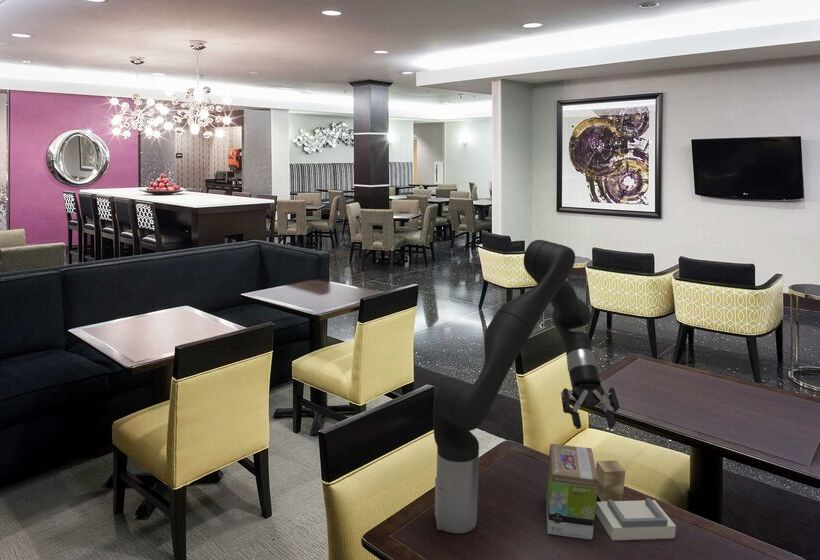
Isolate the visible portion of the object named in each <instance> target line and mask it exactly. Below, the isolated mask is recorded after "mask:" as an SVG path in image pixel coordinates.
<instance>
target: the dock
mask: <svg viewBox="0 0 820 560" xmlns="http://www.w3.org/2000/svg"><path fill="white" fill-rule="evenodd" d="M595 516H596V517H597V519H598V520H599V522H600V523H601V525H602V527H603V528H604V529H605V531H606V533H607V534H608V536H609V537H610V539H611V541H631V540H633V541H634V540H659V539H660V540H662V539H663V540H664V539H665V540H666V539H668V540H669V539H675V537H676V529H677V525H676V524H675V523H674V522H673V520H672V519H671V518H670V517H669V516H668V514H667V513H666V512H665V511H664V509H663V508H662V507H661V506H660V505H659V503H658V502H657V501H656V500H655V499H651V498H650V497H647V498H645V500H623V501H613V500H612V499H608V501H607V502H601V501H596V507H595Z"/></svg>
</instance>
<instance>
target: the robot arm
mask: <svg viewBox="0 0 820 560" xmlns="http://www.w3.org/2000/svg"><path fill="white" fill-rule="evenodd" d="M523 255H524V256H523V267H524V270H525V271H526V273H527V274H528V275H529V277H531V278H532V279H533V280H534V282H535V283H536V285H535V286H534V287H532V288H530V290H528V291H526V292H524V293H522V294H520V295H518V296H516V297H514V298H512V299H511V300H509V301H507V302H506V303H504V304H503V305H502V306H501V307H500V308H499V309H498V310H497V312H496V313H495V315H494V316H493V318H492V319H491V321H490V323H489V324H488V326H487V327H486V330H485V332H484V338H483V339H484V340H483V341H484V343H483V345H484V363H483V367H482V370H481V372H480V374H479V376H478V377H477V379H476V380H475V382H474V383H473V384H472V385H470V384H468V383H465V382H462V381H460V380H456V379H446V380H444V381H443V382H441V383H440V385H439V386H438V388H437V389H436V391H435V394H434V398H433V403H432V406H433V407H432V417H433V420H432V421H433V439H434V442H435V445H436V446H437V447H436V450H437V451H436V477H435V484H434V485H435V487H434V516H435V517H434V518H435V523H436V524H435V525H436V529H437V530H439V531H445V532H447V533H451V534H465V533H469V532H470V531H472V530H474V529H475V527H476V526H477V522H478V521H477V519H478V491H479V490H478V489H479V488H478V485H479V458H480V457H479V455H480V444H479V440H478V438H477V437H476V436H475V435H474V434H473V433H472V432H471V431H474V430H476V429H477V428H479V427H480V426H481V425H482V424H483V422H484V421H485V419H486V418H487V416H488V414H489V412H490V411H491V408H492V406H493V404H494V402H495V399H496V397H497V396H498V393H499V391H500V390H501V387H502V385H503V383H504V380H505V378H506V376H507V375H508V373H509V371H510V370H511V368H512V366H513V365H514V363H515V361H516V359H517V357H518V356H519V354H520V353H521V351H522V349H523V348H524V347H525V345H526V343H527V341H528V339H530V336H531V335H532V333H533V331H534V329H535V327H536V326H537V324H538V323H539V321H540V318H541V316H543V313H544V312H545V311H546V309H547V307H548V306H549V304H551V306H552V309H553V310H552V314H551V319H552V322H553V324H554V326H555V328H556V329H557V331H558V333H559V335H560V337H561V340H562V341H563V345H564V351H565V356H566V365H567V371H568V375H569V379H570V385H571V388H572V389H568V388H566V387H564V388H563V390H562V391H561V393H560V395H561V405H562V411H563V413H564V414H569V415H571V419H572V424H573V427H575V428H576V430H580V429H581V428H582V422H581V415H580V412H578V411H579V409H580V408H581V406H582V407H584V408H585V407H596V406H597V407H598V409H600V410H602V411H603V412H604V413H605V418H606V422H607V427H608V429H613V428H614V427H615V425H616V418H615V413H617V411H619V409H620V408H621V407H620V403H619V401H618V396H617V394H616V390H615V388H614V387H609V388H607V389H604V388H603V386H602V384H601V379H600V374H599V371H598V366H597V361H596V358H595V355H594V353H593V349H592V345H591V339H590V336H589V335H588V333H586V332H583V331H571V330H574V329H578V328H582V327H586V326H587V325H589V324H590V323H591V321H592V315H591V314H592V313H591V310H590V308H589V307H588V305H587V304H586V303H585V302H584V301H583V300H582V299H580V298H579V297H578V296H577V293H576V290H575V288H574V287H573V286H572V284H570V282H569V281H568V280H567V279H568V277H569V276H570V274H571V272H572V270H573V269H574V266H575V261H576V253H575V251H574V249H573V248H571V247H569V246H566V245H564V244H560V243H555V242H551V241H549V240H548V241H547V240H543V239H535V240H532V241H531V242H530V243H529V244H528V246H527V247H526V249H525V251H524V254H523ZM604 395H605V397H606V398H607V399H608V400H607V399H605V397H604ZM571 397H573V398H574V399H575V404H574V406H571V404H570V398H571ZM608 401H609V402H608Z"/></svg>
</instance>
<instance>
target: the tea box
mask: <svg viewBox="0 0 820 560" xmlns="http://www.w3.org/2000/svg"><path fill="white" fill-rule="evenodd" d="M548 454H549V457H548V465H547V466H548V469H547V482H546V493H545V495H546V496H545V500H546V528H547V534H548V535H555V536H560V537H567V538H568V537H569V538H575V539H576V538H577V539H583V540H591V541H592V540H593V536H594V529H595V527H594V525H595V524H594V523H595V517H596V514H595V512H596V502H597V498H596V496H597V487H598V477H597V472H596V464H595V459H594V452H593V449H592V448H591V447H586V446H585V447H583V446H574V445H565V444H563V445H562V444H557V443H556V444H554V443H550V444H549V453H548Z"/></svg>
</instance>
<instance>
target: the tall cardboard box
mask: <svg viewBox="0 0 820 560" xmlns="http://www.w3.org/2000/svg"><path fill="white" fill-rule="evenodd" d="M595 467H596V472H597V477H598V487H597V496H596V499H599V500H600V502H607V501H608V499H612V500H613V501H624V490H625V479H626V470H625V469H624V467H623V466H622V465H621V464H620V463H619V461H618V460H597V461H596V464H595Z"/></svg>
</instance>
